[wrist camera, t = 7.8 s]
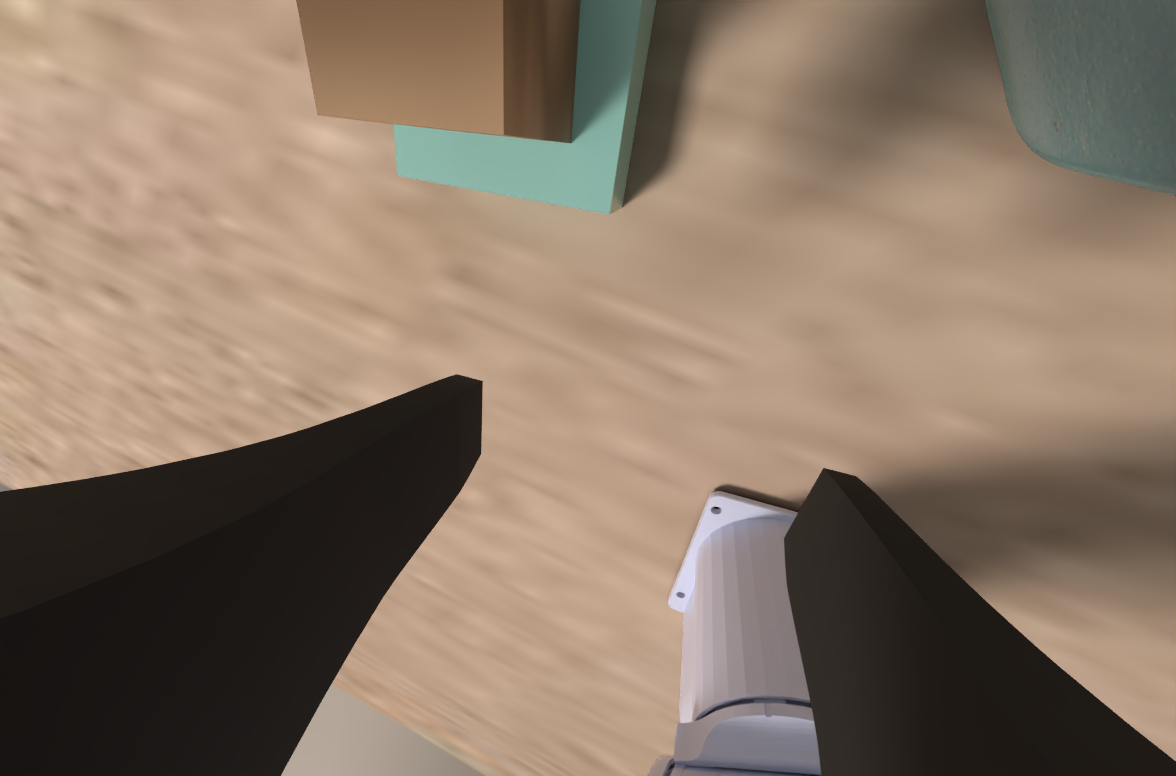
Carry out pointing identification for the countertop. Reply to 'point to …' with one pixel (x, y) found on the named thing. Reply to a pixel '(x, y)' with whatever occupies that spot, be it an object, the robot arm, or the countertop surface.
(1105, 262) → the countertop surface
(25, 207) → the countertop surface
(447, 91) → the walnut block
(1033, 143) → the flower pot
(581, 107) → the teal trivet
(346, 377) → the countertop surface
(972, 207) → the countertop surface
